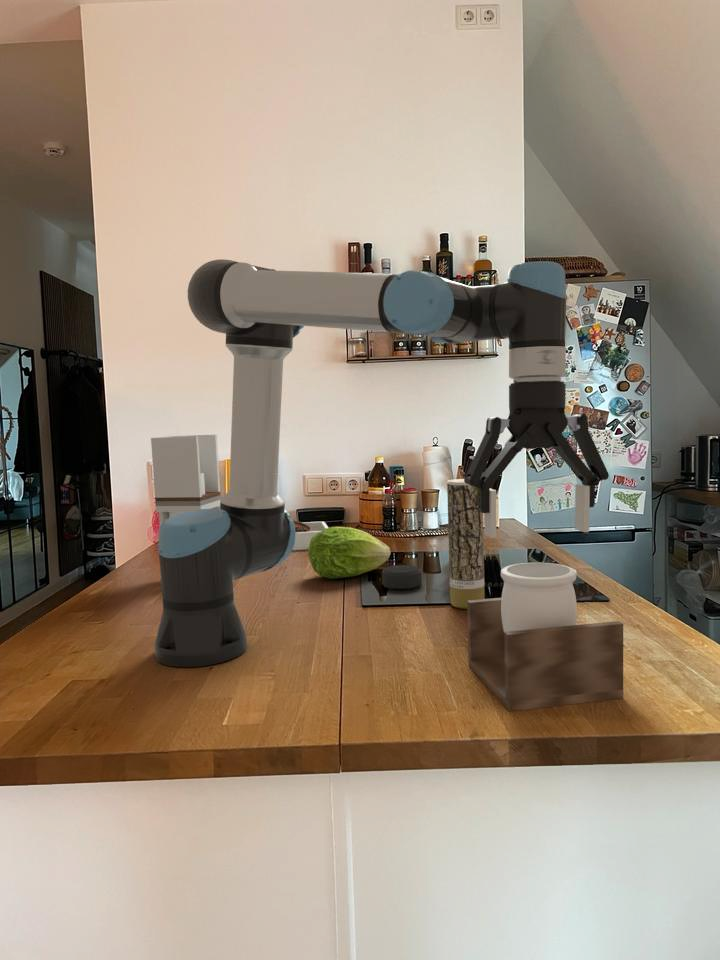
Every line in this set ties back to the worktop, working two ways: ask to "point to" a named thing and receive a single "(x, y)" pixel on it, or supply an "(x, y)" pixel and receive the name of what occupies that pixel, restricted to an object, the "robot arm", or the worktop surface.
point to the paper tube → (465, 544)
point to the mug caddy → (308, 535)
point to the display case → (185, 474)
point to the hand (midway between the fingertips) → (536, 533)
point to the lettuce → (345, 552)
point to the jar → (538, 596)
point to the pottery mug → (301, 527)
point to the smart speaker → (401, 577)
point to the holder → (544, 660)
